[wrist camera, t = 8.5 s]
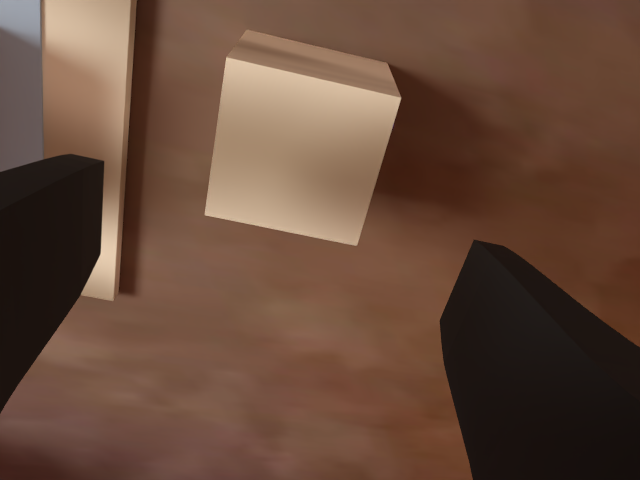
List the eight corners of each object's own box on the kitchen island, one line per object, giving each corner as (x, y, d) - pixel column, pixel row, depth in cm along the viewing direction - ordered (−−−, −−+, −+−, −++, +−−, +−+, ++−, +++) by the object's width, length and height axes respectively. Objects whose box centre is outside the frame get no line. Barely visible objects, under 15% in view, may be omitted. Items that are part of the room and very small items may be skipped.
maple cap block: (352, 187, 20) (356, 245, 16) (227, 161, 19) (204, 215, 16) (386, 62, 17) (401, 97, 14) (247, 29, 17) (226, 57, 14)
